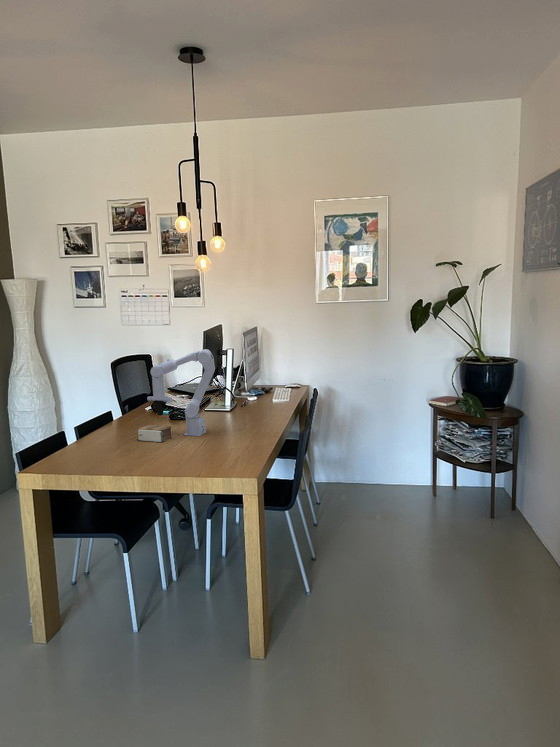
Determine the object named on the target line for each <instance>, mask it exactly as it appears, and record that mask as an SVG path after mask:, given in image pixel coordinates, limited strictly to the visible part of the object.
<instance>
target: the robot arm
mask: <svg viewBox="0 0 560 747" xmlns="http://www.w3.org/2000/svg"><path fill="white" fill-rule="evenodd" d="M189 362H199V363H200V364H201V366H202V368H203V369H204V372H203V374H202V377H201V378H200V381H199V384H198V386H197V388H196V390H195V391H194V394H193V396H192V398H191V400H190V402H189V403H188V405H187V406H186V407H185V408H184V415H185V425H186V426H185V427H186V432H184V433H183V434H182V435H183V436H193V437H200V436H202V435H204V434H207V429H206V428H207V426H206V419H205V417H203V416H200V414H199V411H200V405H201V402H202V400H203V398H204V395H205V393H206V391H207V389H208V387H209V385H210V382H211V380H212V378H213V376H214V373H215V372H216V371H215V370H216V367H215V360H214V354H213V353H212V352H211V351H210V350H209V349H207V348H204V349H202V350H198V351H194V352H190V353H188V354H186V355H185V356H182V357H180V358H178V359H173V358H171V359H170V358H168V359H166V361H163V362H158V364H156V365H154V366H152V367H151V369H150V375H151V379H152V380H151V381H152V382H151V383H152V394H153V395H152V396H151V395H150V396H147V397H146V398H147V401H152V405H153V406H154V408H155V409H156V413H157V415H158V416H159V417H161V416H163V415H164V411H165V407H166V405H167V403H172V402H173V399H172V397H168V396H166V394H165V393H166V392H165V391H166V390H165V381H164V375H166V374H170V373H171V372H173V371H175V370H176V371H177V370H178V369H177V368H178V367H179V366H181V365H184V364H186V363H189Z"/></svg>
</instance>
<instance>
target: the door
mask: <svg viewBox="0 0 560 747" xmlns="http://www.w3.org/2000/svg"><path fill="white" fill-rule="evenodd" d="M137 432H138V433H137V435H138V441H144V442H157V443H158V442H159V443H163V442H162V441H163V437H162V436H163V432H161V431H153V430H139V429H137Z"/></svg>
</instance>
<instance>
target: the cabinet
mask: <svg viewBox="0 0 560 747" xmlns="http://www.w3.org/2000/svg"><path fill="white" fill-rule="evenodd" d="M137 430H153V431H161V432H163V436H162V437H163V441H162V442H161V443H164V442H166V441H168V440H171V439H172V426H171V425H159V424H158V425H156V424H155V425H154V424H153V425H151V424H146V425H143V426H140V427H138V428H137Z"/></svg>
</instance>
